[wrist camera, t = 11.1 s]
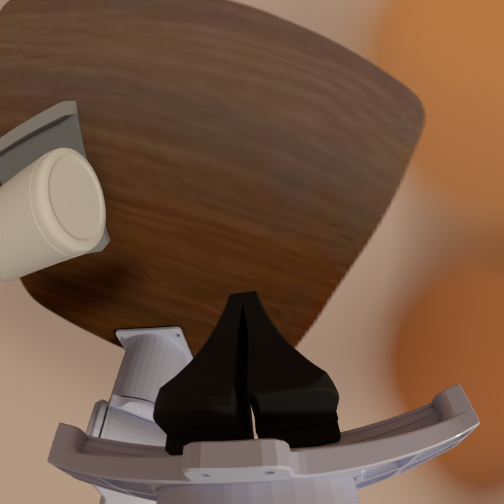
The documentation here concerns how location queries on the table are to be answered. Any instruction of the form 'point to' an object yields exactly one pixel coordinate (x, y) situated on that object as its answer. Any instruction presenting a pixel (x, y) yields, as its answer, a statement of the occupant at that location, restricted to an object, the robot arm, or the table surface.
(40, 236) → the pill bottle
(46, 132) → the grey tray
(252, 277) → the table surface
